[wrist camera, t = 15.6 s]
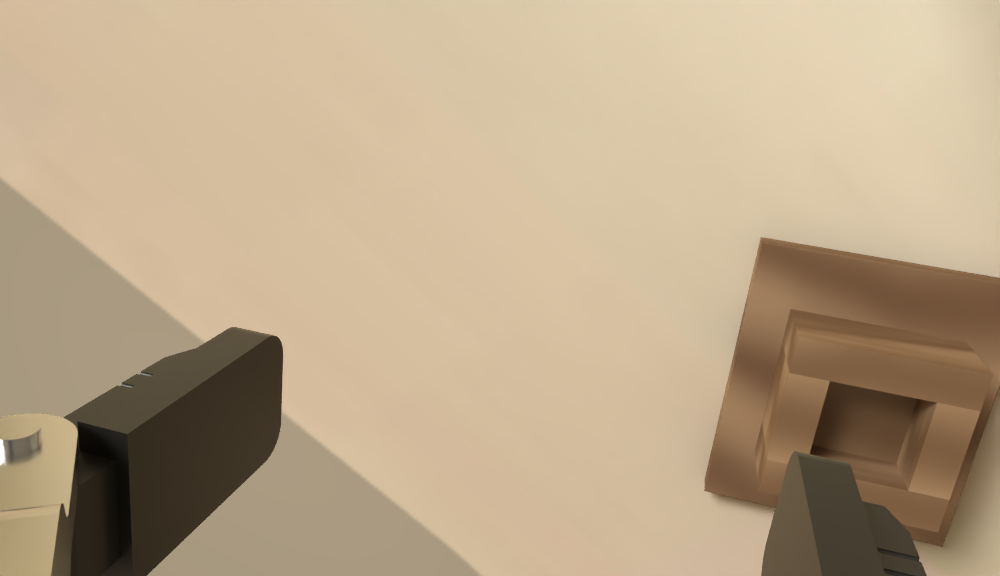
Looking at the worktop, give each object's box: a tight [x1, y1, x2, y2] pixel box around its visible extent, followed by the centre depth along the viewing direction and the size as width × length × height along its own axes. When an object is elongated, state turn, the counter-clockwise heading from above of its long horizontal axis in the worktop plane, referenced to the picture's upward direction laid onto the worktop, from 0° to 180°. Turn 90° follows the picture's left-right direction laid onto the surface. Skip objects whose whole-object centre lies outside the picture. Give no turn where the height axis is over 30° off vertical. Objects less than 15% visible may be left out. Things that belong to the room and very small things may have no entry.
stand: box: [705, 237, 1000, 546], centre depth 39 cm, size 14×12×5 cm
